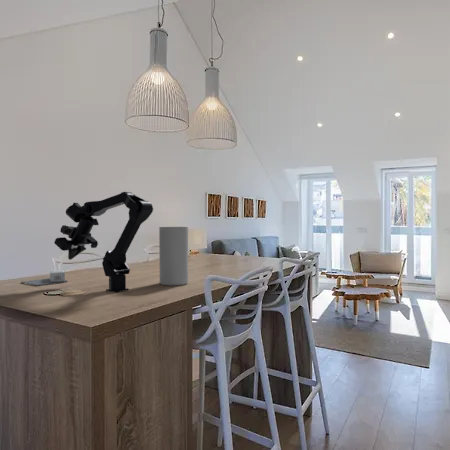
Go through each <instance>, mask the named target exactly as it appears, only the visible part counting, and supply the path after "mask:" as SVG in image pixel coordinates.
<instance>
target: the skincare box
mask: <svg viewBox="0 0 450 450" xmlns="http://www.w3.org/2000/svg"><path fill="white" fill-rule="evenodd" d="M49 278H50V281H51V282H60V281H65V280H66V272H65V270H64V269H49Z"/></svg>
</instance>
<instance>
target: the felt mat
mask: <svg viewBox="0 0 450 450" xmlns="http://www.w3.org/2000/svg"><path fill="white" fill-rule="evenodd" d="M22 282H23V283H27V284H31V285H30V286H32V285H36V286H35V287H39V286H38V285H42V286H46V285H45V284H49V285H55V284H54V283H56V284H62V283H67V282H68V280H66V279H65V281H60V282H51V281H50V277H48V278H46V277H45V278H40V279H32V280H25V281H22ZM27 284H26V285H27Z"/></svg>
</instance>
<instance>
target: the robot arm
mask: <svg viewBox="0 0 450 450" xmlns="http://www.w3.org/2000/svg"><path fill="white" fill-rule="evenodd" d="M123 205H124V206H125V208H127V209H129V210H128V220H127V223H126V224H125V226H124V228H123V231H122V233H120V236H119V238H118V240H117V242H116V244H115V246H114V249H112V250H106V252H105V255H104V256H103V258H102V263H101V264H102V268H103V272H104V276H105V277H108V288H106V289H105V291H106V292H112V293H119V292H124V291H129V290H130V288H128V287H126V286H127V284H126V283H127V282H126V280H127V279H126V276H127V275H129V274H130V271H131V269H130V267H129V266H128V264H127V263H126V262H127V254H126V253H128V251H129V248H130V247H131V245H132V242H133V241H134V239H135V236H136V235H137V233H138V231H139V229H140V227H141V225H142V224H143V223H144V222H145V221H146V220H148V219H149V217H150V216H151V215H152V213H153V211H154V206H153V204H152V202H151V201H148V200H145V199H143V198H141V197H140V196H137V195H136V194H134V193H133V192H131V191H130V192H129V191H122V192H120V193H119V194H115V195H113V196H109V197H107V198H105V199H102V200H93V201H92V200H91V201H86V202H84V203H83V205H80V203H78V202H73V203H72V204H71V205H70V206H68V207H67V208H66V210H65V214H66V216H67V217H69V218H70V219H71V220H72V221H73V222H74V223H78V224H77V225H76V226H72V225H71V226H68V225H66V224H65V225H62V226H61V228H60V231H59V232H60V233H61V234H63V235H66V236H67V237H68V238H69V239H67V238H66V237H65V236H64V237H56V238H55V240H54V243H53V244H55V246H57V247H58V248H59V249H60V251H64V252H65V251H68V260H70V261H71V260H73V259H74V258H75V257H77V256H78V255H79V254H81V253H82V252H84V251H86V250H87V247H86V245H87V246H88V245H90V248H91V249H96V248H97V247H98V245H99V242H98V240H97V239H95V237H94V236H92V233H91V231H92V230H93V227H94V226H99V221H98V218H94V217H101V216H102V215H104V214H105V213H106V212H107V211H109V210H112V209H113V208H116V207H119V206H123Z"/></svg>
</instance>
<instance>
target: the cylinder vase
mask: <svg viewBox="0 0 450 450" xmlns="http://www.w3.org/2000/svg"><path fill="white" fill-rule="evenodd" d="M158 229H159V231H158V234H159V235H158V237H159V241H158V242H159V243H158V244H159V247H158V248H159V252H158V253H159V254H158V255H159V284H160V285H161V286H170V287H171V286H172V287H174V286H175V287H177V286H183V285H187V284H188V283H189V227H188V226H159V227H158Z"/></svg>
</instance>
